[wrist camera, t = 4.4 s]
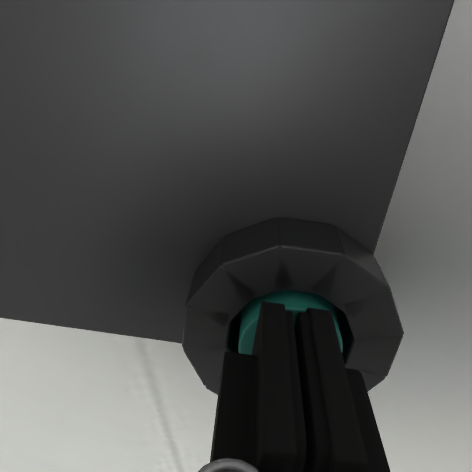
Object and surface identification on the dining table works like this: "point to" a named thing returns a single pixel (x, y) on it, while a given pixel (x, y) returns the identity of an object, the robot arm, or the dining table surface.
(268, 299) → the button
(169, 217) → the dark grey flat block
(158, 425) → the dining table surface
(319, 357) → the robot arm
